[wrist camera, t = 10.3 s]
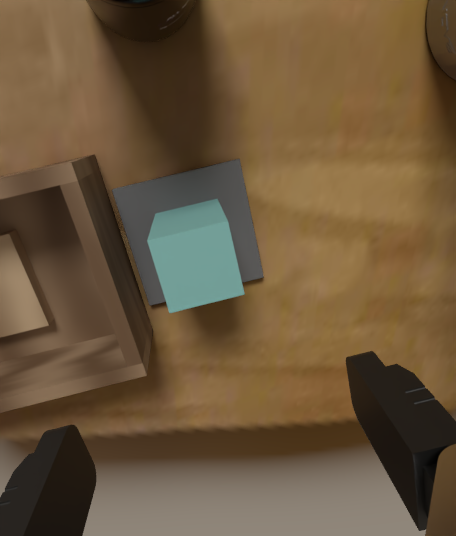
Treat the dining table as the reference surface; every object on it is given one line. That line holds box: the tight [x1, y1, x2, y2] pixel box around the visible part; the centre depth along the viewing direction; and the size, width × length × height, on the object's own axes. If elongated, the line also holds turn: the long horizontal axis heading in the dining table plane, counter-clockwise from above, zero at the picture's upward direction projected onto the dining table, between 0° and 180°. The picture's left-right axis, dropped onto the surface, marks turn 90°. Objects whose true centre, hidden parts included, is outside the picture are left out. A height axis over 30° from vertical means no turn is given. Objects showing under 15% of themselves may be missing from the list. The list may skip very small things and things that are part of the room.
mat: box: [112, 159, 264, 305], centre depth 29 cm, size 9×9×1 cm
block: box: [147, 199, 245, 313], centre depth 26 cm, size 4×4×7 cm
